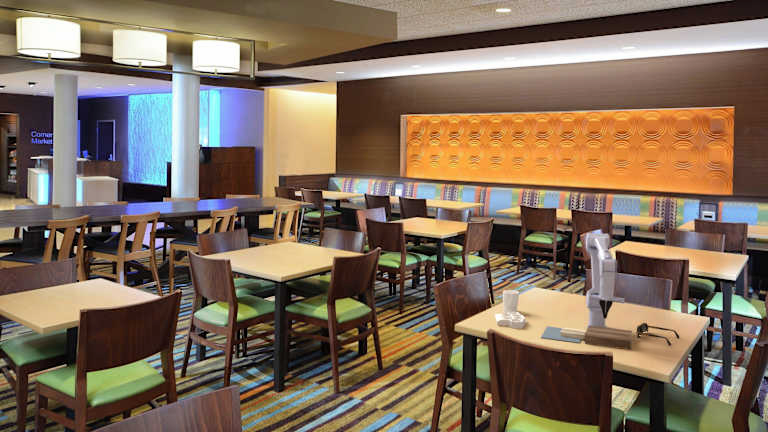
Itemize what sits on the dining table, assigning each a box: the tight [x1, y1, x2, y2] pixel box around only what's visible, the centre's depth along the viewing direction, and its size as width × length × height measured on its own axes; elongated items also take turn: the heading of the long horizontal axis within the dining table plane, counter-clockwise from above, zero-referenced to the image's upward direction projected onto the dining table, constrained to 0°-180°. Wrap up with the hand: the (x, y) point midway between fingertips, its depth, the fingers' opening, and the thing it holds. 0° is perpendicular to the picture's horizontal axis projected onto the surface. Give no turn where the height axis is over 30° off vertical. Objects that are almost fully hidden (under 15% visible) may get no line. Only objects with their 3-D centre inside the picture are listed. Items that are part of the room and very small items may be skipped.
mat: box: [540, 326, 582, 344], centre depth 266 cm, size 18×16×1 cm
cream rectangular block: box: [560, 327, 587, 340], centre depth 264 cm, size 7×10×2 cm
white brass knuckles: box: [494, 311, 529, 330], centre depth 284 cm, size 3×18×15 cm
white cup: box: [502, 289, 520, 313], centre depth 304 cm, size 8×8×10 cm
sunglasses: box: [636, 322, 680, 346], centre depth 264 cm, size 14×15×5 cm
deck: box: [584, 324, 633, 350], centre depth 259 cm, size 16×18×4 cm
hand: (605, 317), depth 261 cm, fingers closed
